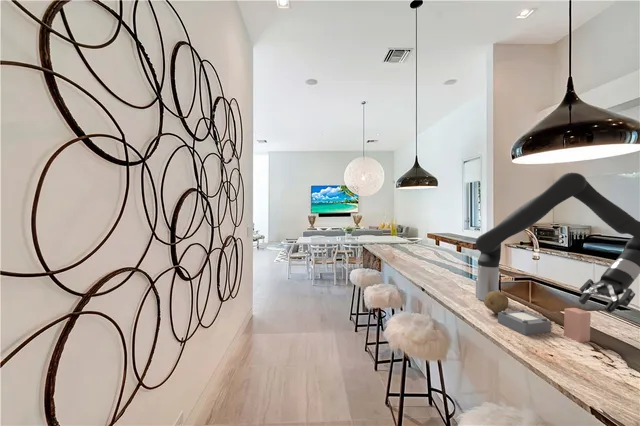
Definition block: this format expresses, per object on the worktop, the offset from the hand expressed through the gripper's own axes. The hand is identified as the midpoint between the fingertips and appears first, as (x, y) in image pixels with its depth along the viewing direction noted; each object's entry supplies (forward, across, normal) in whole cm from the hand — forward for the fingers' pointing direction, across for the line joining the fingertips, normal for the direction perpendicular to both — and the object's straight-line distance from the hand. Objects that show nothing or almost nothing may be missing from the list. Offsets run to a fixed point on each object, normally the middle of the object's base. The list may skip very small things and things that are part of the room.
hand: (593, 306), depth 104 cm
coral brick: (+13, 0, +3) cm, 13 cm away
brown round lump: (+21, -25, -5) cm, 33 cm away
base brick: (+20, -11, -5) cm, 24 cm away
